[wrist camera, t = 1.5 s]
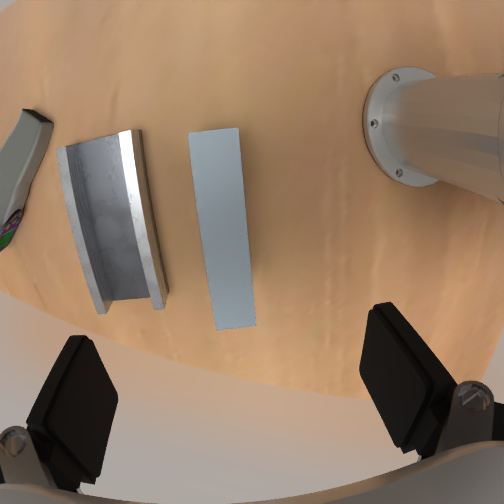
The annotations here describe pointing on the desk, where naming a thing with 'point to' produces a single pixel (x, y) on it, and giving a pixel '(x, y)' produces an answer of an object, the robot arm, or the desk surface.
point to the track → (113, 219)
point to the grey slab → (223, 225)
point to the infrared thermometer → (20, 168)
